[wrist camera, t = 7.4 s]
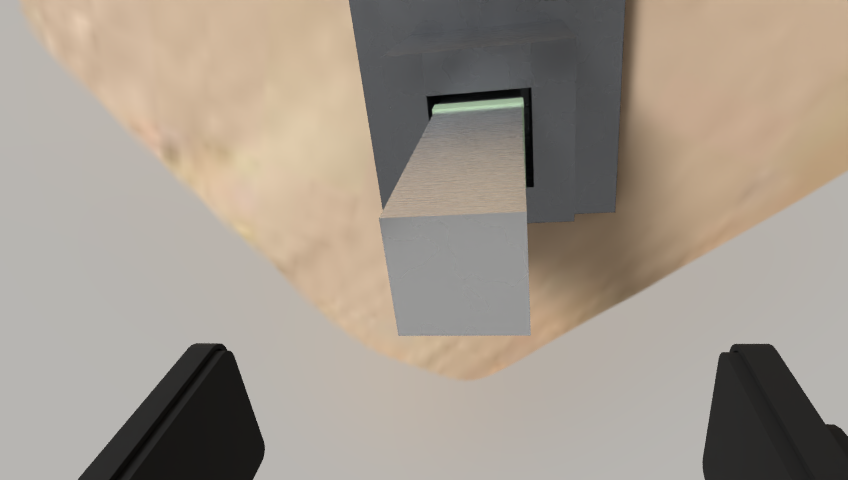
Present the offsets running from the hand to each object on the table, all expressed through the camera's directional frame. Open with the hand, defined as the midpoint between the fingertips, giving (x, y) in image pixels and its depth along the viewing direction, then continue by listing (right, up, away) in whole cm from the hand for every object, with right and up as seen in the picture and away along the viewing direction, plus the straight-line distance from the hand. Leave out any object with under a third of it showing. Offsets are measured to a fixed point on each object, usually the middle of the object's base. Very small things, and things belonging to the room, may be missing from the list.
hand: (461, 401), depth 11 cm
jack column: (+3, +9, +19) cm, 21 cm away
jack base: (+4, +13, +25) cm, 28 cm away
